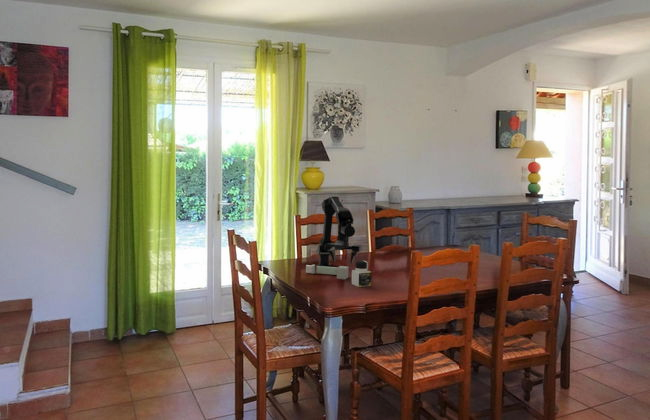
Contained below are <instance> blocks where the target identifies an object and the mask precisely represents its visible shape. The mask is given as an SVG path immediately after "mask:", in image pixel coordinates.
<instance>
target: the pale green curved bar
mask: <svg viewBox="0 0 650 420" xmlns="http://www.w3.org/2000/svg"><path fill="white" fill-rule="evenodd" d="M337 268H338V267H335V266H334V267H333V266H318V265H316V274H324V275H333V276H334V275H336V276H337Z"/></svg>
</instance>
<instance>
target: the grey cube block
mask: <svg viewBox="0 0 650 420" xmlns="http://www.w3.org/2000/svg"><path fill="white" fill-rule="evenodd" d="M336 268H337V275H336V279H338V280H346V279H348V278H349V266H346V265H345V266H344V265H339V266H338V267H336Z"/></svg>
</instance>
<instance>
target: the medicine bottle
mask: <svg viewBox="0 0 650 420" xmlns="http://www.w3.org/2000/svg"><path fill="white" fill-rule="evenodd" d="M368 263H369V262H368V261H366V260H357V261H355V266H354V267H355V269H352V270H351V285H353V286H355V287H357V288H361V287H363V288H364V287H370V286H371V285H372V271H370V270H368V268H369V264H368Z"/></svg>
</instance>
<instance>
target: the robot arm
mask: <svg viewBox="0 0 650 420" xmlns="http://www.w3.org/2000/svg"><path fill="white" fill-rule="evenodd" d="M321 208H322V212H323V213H324V218H323V220H324V221H323V230H322V238H321V239H320V240H319V242H318V245H317V247H316V255H317V256H319V263H318V264H317V266H323V267H330V266H331V265H332V263H333V264H336V251H344V250H351V252H350V253H351V255H350V265H353V262H354V260H355V257H356V254H358V253H359V252H361V251H362V250H363V249H362V245H361V244H353V245H350V242H349V241H350V237H351V238H352V237H353V236H354V235H355V233H356V229H355V227H354V226H352V225H353V224H354V221H355V220H354V218H353V214H352V212H351V211H350V209H349V208H346V207H345V206H344V205H343V203H342V202H341V201H340V198H339V196H336V195H335V196H330V197H328V198H325V199H324V200H322V202H321ZM334 215H335V218H336V219H335V220H336V222H337V237H336V241H335V242H333V241H332V240H331V238H332V237H331V236H332V227H333V217H334ZM330 256H331V259H332V263H330Z"/></svg>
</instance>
